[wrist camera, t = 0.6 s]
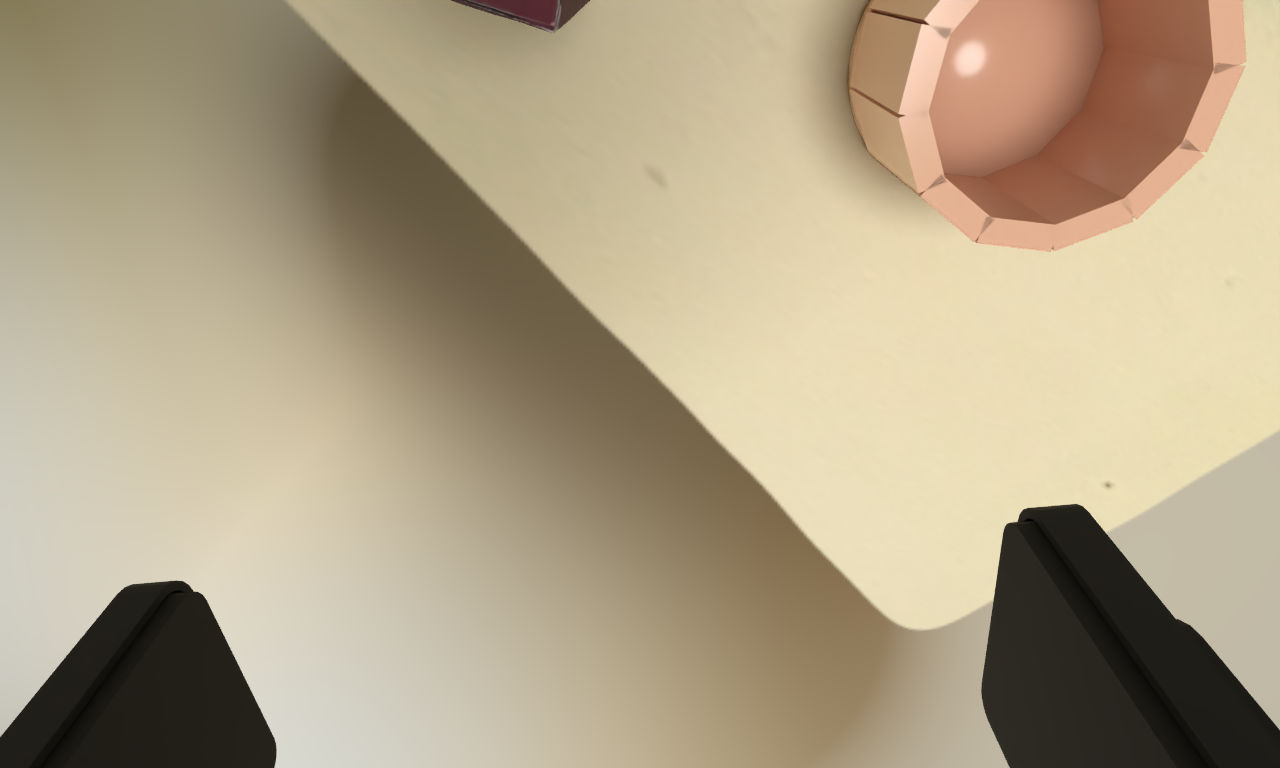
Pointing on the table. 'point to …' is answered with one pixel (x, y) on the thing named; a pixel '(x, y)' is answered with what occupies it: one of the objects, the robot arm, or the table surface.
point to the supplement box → (531, 11)
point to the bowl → (1043, 106)
